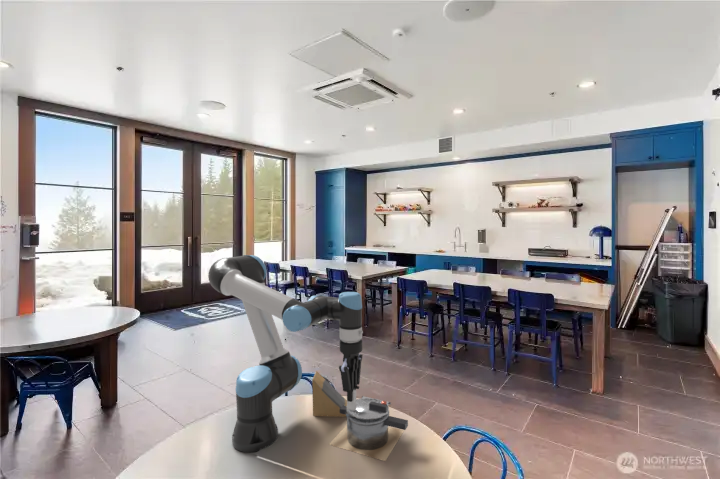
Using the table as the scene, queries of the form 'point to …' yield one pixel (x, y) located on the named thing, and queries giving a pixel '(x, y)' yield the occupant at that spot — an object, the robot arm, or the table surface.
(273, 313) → the robot arm
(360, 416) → the lid
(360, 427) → the pot
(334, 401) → the sandwich container
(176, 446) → the table surface
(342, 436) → the trivet
